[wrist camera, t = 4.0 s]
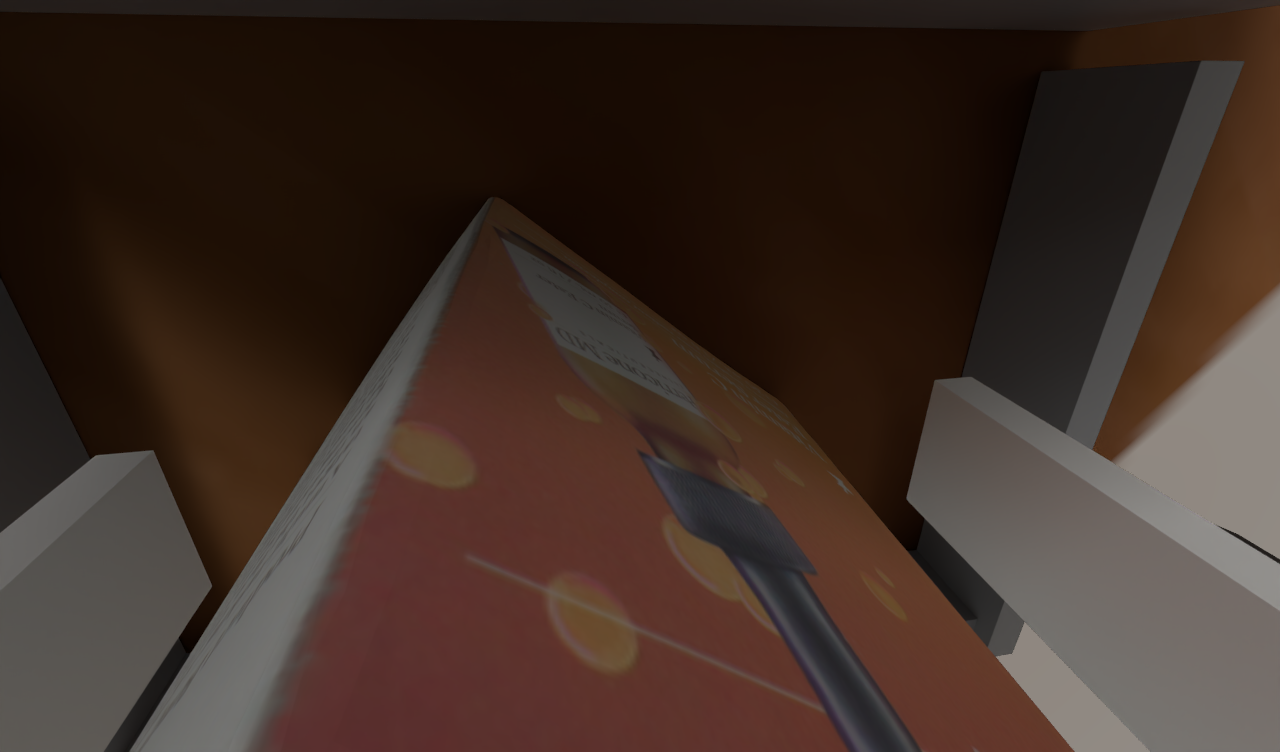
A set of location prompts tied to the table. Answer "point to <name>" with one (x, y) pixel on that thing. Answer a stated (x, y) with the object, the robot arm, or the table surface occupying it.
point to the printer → (1018, 277)
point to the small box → (578, 556)
